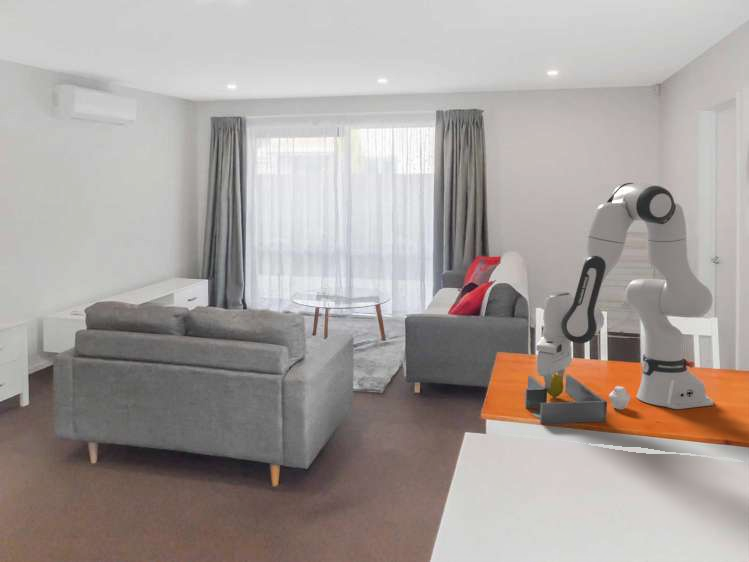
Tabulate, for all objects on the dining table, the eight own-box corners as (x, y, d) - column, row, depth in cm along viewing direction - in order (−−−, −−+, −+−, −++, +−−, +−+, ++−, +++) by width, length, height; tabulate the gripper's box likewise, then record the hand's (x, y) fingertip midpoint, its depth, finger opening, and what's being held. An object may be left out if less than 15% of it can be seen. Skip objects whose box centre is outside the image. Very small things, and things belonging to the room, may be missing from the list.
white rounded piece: (604, 404, 192) (606, 383, 191) (623, 404, 192) (624, 382, 191) (614, 411, 186) (615, 389, 185) (633, 411, 186) (634, 388, 185)
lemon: (563, 401, 195) (564, 377, 194) (545, 400, 196) (546, 376, 195) (562, 395, 201) (563, 372, 199) (544, 394, 202) (545, 371, 201)
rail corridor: (568, 391, 204) (568, 374, 204) (606, 421, 177) (607, 401, 176) (511, 393, 203) (512, 376, 202) (541, 423, 176) (541, 403, 175)
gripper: (558, 335, 205) (556, 375, 207) (534, 346, 189) (532, 389, 191) (577, 338, 201) (575, 379, 203) (553, 349, 185) (551, 393, 187)
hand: (554, 384), depth 197 cm, fingers open, 8 cm apart
